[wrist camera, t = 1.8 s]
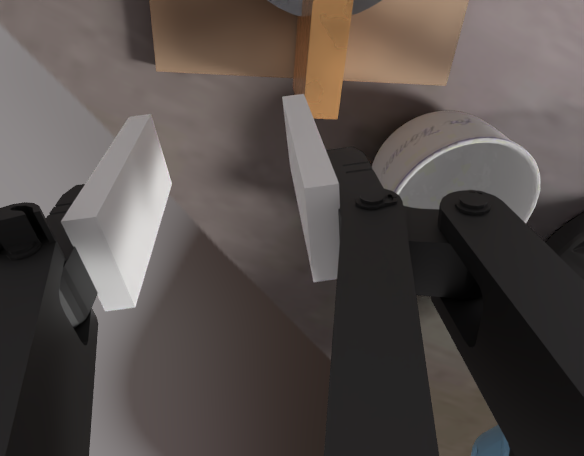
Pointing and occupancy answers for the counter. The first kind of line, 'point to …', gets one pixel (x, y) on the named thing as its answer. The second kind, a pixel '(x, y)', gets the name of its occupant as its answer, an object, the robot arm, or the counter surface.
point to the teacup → (456, 162)
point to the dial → (321, 49)
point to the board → (282, 39)
